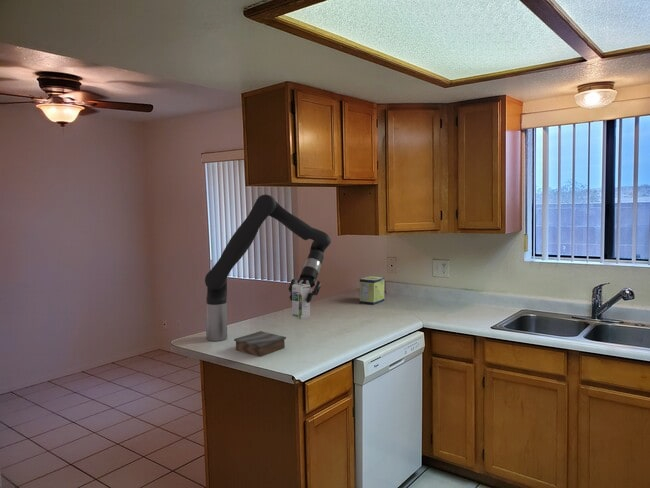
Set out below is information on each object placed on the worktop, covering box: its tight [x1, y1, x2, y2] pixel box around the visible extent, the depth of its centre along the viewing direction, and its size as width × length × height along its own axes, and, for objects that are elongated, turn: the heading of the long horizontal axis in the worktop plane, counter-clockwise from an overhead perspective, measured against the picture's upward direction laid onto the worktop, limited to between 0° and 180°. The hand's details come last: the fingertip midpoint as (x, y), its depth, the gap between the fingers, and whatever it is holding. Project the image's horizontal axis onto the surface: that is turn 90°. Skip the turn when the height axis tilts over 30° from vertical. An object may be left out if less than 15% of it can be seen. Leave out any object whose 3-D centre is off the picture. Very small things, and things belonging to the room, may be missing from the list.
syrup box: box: [291, 283, 311, 320], centre depth 210 cm, size 6×6×14 cm
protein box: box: [359, 275, 385, 306], centre depth 311 cm, size 10×16×16 cm
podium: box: [233, 330, 287, 357], centre depth 213 cm, size 16×16×5 cm
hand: (299, 301), depth 209 cm, fingers closed on syrup box, 7 cm apart
